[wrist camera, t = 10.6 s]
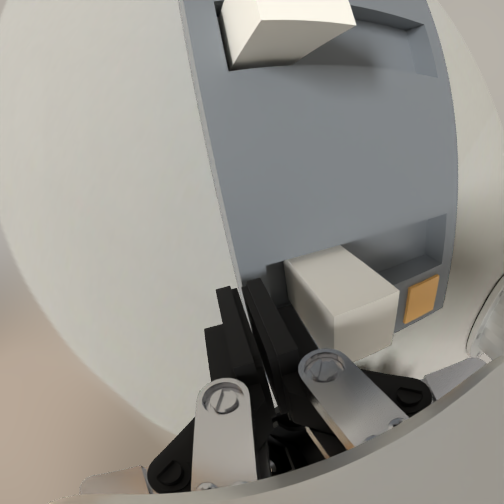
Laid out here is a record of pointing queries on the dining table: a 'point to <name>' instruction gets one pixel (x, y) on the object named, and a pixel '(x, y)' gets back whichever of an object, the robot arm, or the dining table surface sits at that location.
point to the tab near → (279, 29)
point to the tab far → (342, 301)
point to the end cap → (290, 446)
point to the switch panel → (335, 151)
